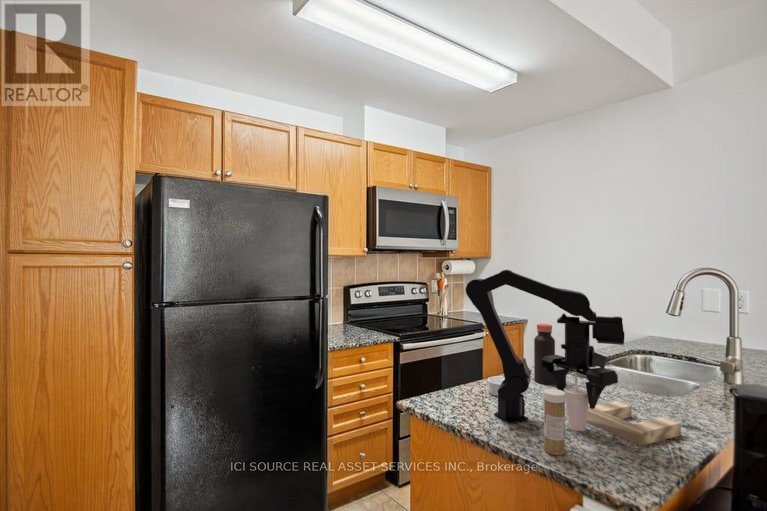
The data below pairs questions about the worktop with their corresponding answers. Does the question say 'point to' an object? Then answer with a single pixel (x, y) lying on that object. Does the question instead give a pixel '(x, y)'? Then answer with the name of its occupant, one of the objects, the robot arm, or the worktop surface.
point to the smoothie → (577, 406)
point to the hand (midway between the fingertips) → (577, 402)
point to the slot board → (631, 424)
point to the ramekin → (495, 384)
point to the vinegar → (543, 352)
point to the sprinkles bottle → (554, 421)
